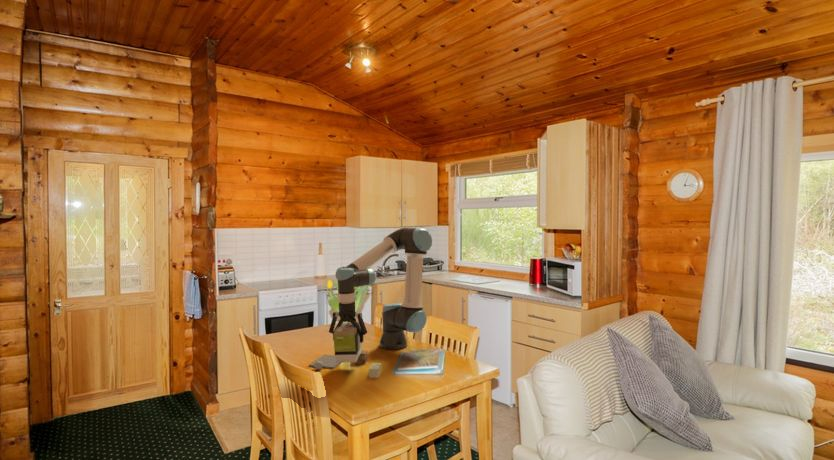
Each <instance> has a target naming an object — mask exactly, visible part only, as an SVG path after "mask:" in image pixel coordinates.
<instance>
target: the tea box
mask: <svg viewBox="0 0 834 460" xmlns="http://www.w3.org/2000/svg"><path fill="white" fill-rule="evenodd" d="M356 322H357V323H358V325H359V326H360V324H359V322H358V321H356ZM335 328H336V327H335ZM335 328H334V329H335ZM358 336H359V334H358V332H357V328H355V327H354V326H353V324H351V322H343V323H342V325H341V326H339V327H337V328H336V329H335V331H334V341H333V345H334V346H333V347H334V348H333V349H334V355H335V362H336V363H341V362H342V363H355V362H356V361H357V359H358V357H359V355H360V353H361V351H362V350H363V348H362V349H361V350H358ZM342 363H341V364H342Z"/></svg>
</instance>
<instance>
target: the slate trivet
mask: <svg viewBox="0 0 834 460" xmlns="http://www.w3.org/2000/svg"><path fill="white" fill-rule="evenodd" d="M316 361H321V362H322V363H323V367H322V368H321V369H331V370H334V369H335V368H337V367H338V366H340V365H341V364H342V363H343V362H341V363H336V362H335V354H323V355H322V356H320V357H318V358H316V359H315V360H314V361H312V362H311V363H310V364H309V363H308V367H310V368H311V367H312V368H315V367H314V364H315V362H316Z"/></svg>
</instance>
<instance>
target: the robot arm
mask: <svg viewBox="0 0 834 460" xmlns="http://www.w3.org/2000/svg"><path fill="white" fill-rule="evenodd" d="M432 245H433V237H432V235H431V233H430V232H429V231H428V230H427V229H425V228H421V227H402V228H399V229H397V230H395V231H393V232H391V233H390V234H388V235H387V236H385V237H384V238H383V240H382V241H381V242H380V243H378V244H377V245H375V246H374V247H372V248H371V249H369V250H367V252H366V253H364V254H362V255H361V256H360V257H358V258H357V259H355V260H354V261H352V262H351V263H349V264H348V265H346V266H340V267H338V268H337V269H336V271H335V278H336V280H337V292H338V297H337V298H338V299H337V300H338V312H337V311H334V312H332V319H331V323H330V326H329V329H328V333H330V334H332V340H333V342H334V331H335V329H336V328H337V327H339V326H341V325H342V323H343V322H351V324H353V326H354V327H355V328H357V332H358V334H359V336H358V350H361V349H362V350H363V343H364V336H366V335H367V333H368V331H367V328H366V324H365V321H364V319H363V313H362V312H359V313H358V312H356V302H355V301H356V296H355V295H356V293H355V291H356V288H359V287H364V286H370V285H373V284H374V283H375V282H376V279H377V277H376V273H375V270H373V268H372V267H374V266H375V265H376V264H377V263H379V262H380V261H382V260H383V259H385V258H386V257H387V256H389V255H390V254H395V253H396V252H398V251H402V250H404V254H405V256H406V267H405V268H406V269H405V282H404V283H405V284H404V285H405V286H404V296H403V297H404V298H403V299H404V300H403V302H394V303H385V304H384V305H383V306H382V312H381V313H382V314H381V315H382V316H381V317H382V333H381V337H380V340H379V347H380V348H382V349H385V350H401V349H404V348H406V347H407V346H408V340H407V337H406V333H405V332H409V333H414V334H415V333H419V332H421V331H422V330H423V329H424V328H425V326H426V324H427V319H428V318H427V314H426V313H425V312H424V309H423V308H424V306H423V305H422V303H421V298H422V284H423V282H422V280H423V270H424V268H423V267H424V258H425V257H426V256H427V254H428V251H429V250H431V247H432ZM338 317H339V320H338ZM356 319H357V320H356ZM337 320H338V323H337ZM357 322H359V324H360V326H359V325H358V323H357ZM336 323H337V324H336Z"/></svg>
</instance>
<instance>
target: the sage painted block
mask: <svg viewBox="0 0 834 460" xmlns="http://www.w3.org/2000/svg"><path fill="white" fill-rule="evenodd" d="M381 373H382V363H381V362H372V363H371V365H370V367H369V368H368V378H375V379H378V378H379V377H380V375H381Z"/></svg>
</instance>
